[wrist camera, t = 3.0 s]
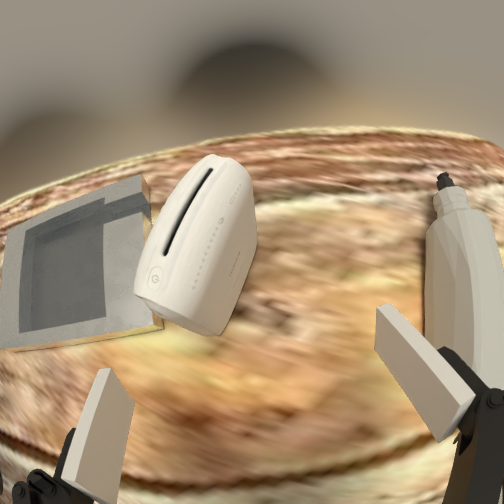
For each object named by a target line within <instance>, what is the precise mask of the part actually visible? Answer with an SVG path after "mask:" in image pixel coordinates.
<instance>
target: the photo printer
mask: <svg viewBox="0 0 504 504" xmlns="http://www.w3.org/2000/svg"><path fill="white" fill-rule="evenodd" d="M256 246H257V227H256V217H255V208H254V198H253V189H252V181H251V178H250V176H249V174H248V172H247V171H246V170H245V169H244V167H243V166H242V165H240V164H239V163H238V162H236V161H235V160H233V159H231V158H223V157H219V156H217V155H215V154H211V155H208V156H206V157H204V158H203V159H202V160H200V161H199V162H198V163H197V164H195V165H194V166H193V167H192V168H191V169H190V170H189V171H188V173H187V174H186V175H185V176H184V177H183V178H182V180H181V181H180V182H179V184H178V185H177V186H176V188H175V189H174V191H173V192H172V193H171V195H170V196H169V197H168V199H167V201H166V203H165V205H164V206H163V207H162V209H161V211H160V214H159V216H158V217H157V219H156V221H155V223H154V225H153V227H152V229H151V232H150V234H149V236H148V239H147V241H146V244H145V246H144V249H143V252H142V255H141V258H140V260H139V264H138V268H137V271H136V276H135V282H134V291H133V293H134V295H136V296H137V297H139V298H141V299H142V300H143V301H144V303H145V304H146V306H147V307H148V308H149V309H150V310H151V311H152V312H153V313H155V314H156V315H158V316H160V317H161V318H163V319H165V320H168V321H170V322H172V323H174V324H176V325H179V326H181V327H183V328H186V329H188V330H190V331H193V332H195V333H197V334H200V335H204V336H212V335H215V334H216V335H218V336H219V335H220V334H221V333H222V332H223V330H224V328H225V327H226V325H227V323H228V321H229V319H230V317H231V314H232V312H233V310H234V307H235V305H236V302H237V300H238V298H239V295H240V293H241V290H242V288H243V285H244V282H245V280H246V277H247V274H248V272H249V269H250V266H251V263H252V260H253V257H254V254H255V251H256Z"/></svg>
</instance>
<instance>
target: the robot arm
mask: <svg viewBox="0 0 504 504" xmlns="http://www.w3.org/2000/svg"><path fill="white" fill-rule="evenodd" d="M374 349H375V351H376V352H377V354H378V355H379V356H380V358H381V359H382V361H383V362H384V363H385V365H386V366H387V368H388V369H389V371H390V372H391V373H392V375H393V376H394V378H395V379H396V381H397V382H398V383H399V385H400V386H401V388H402V389H403V391H404V392H405V394H406V395H407V397H408V398H409V400H410V401H411V403H412V404H413V406H414V407H415V408H416V410H417V411H418V413H419V415H420V416H421V418H422V419H423V421H424V422H425V424H426V425H427V427H428V428H429V430H430V431H431V433H432V434H433V436H434V438H435V439H436V441H437V442H438V443H439V442H441V441H442V440H444V439H446V438H447V437H449V436H450V435H452V434H453V432H454V431H455V429H456V428H457V427H458V429H459V430H460V432H459V434H458V435H457V437H456V438H455V439H454V442H453V444H455V443H456V442H457V441H458V443H457V448H456V453H455V458H454V463H453V467H452V471H451V475H450V479H449V483H448V486H447V490H446V493H445V496H444V499H443V502H442V504H498V502H499V497H500V492H501V487H502V489H503V490H502V491H503V502H502V504H504V390H501V389H498V388H489V387H488V386H487V385H486V384H485V383H484V382H483V381H482V380H481V379H480V378H479V377H478V376H477V374H476V373H475V372H474V371H473V370H472V369H471V368H470V367H469V366H467V364H466V363H465V362H464V361H463V360H461V357H460V356H459V355H458V354H457V353H456V352H455V351H453V350H451V349H449V348H447V347H445V346H443V347H442V348H440V349H438V350H436V349H435V348H434V347H433V346H432V345H431V344H430V343H429V342H428V341H427V340H426V339H425V338H424V337H423V335H422V334H421V333H420V332H419V331H418V330H417V329H416V328H415V327H414V326H413V325H412V324H411V323H410V322H409V321H408V320H407V319H406V318H405V317H404V316H403V315H402V314H401V313H400V312H399V311H398V310H397V309H396V308H395V307H394V306H393V305H392V304H391V303H390V302H389V303H387V304H384V305H381V306H378V307H377V309H376V332H375V347H374ZM134 407H135V402H134V400H133V399H132V398H131V396H130V395H129V393H128V392H127V391H126V389H125V388H124V386H123V385H122V384H121V382H120V381H119V379H118V378H117V376H116V375H115V373H114V372H113V370H112V369H111V368H105V369H99V371H98V373H97V376H96V378H95V380H94V383H93V385H92V388H91V390H90V393H89V395H88V398H87V400H86V403H85V406H84V408H83V411H82V414H81V416H80V419H79V422H78V425H77V428H72V429H71V431H70V432H69V433H68V435H67V436H66V439H65V442H64V446H63V448H62V453H61V454H60V457H59V460H58V464H57V467H56V470H55V474H54V477H53V478H52V477H51V476H50V475H48V474H47V473H46V472H44V471H43V470H41V469H35V470H33V471H31V472H30V473H29V475H28V477H27V484H26V483H25V482H23V481H19V482H16V483H15V485H14V486H13V489H12V500H13V504H94V500H95V501H96V502H98V503H100V504H117V497H118V490H119V483H120V477H121V471H122V465H123V460H124V454H125V449H126V444H127V439H128V434H129V429H130V424H131V420H132V415H133V411H134ZM1 493H2V480H1V475H0V494H1Z"/></svg>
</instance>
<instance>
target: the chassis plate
mask: <svg viewBox="0 0 504 504" xmlns="http://www.w3.org/2000/svg"><path fill="white" fill-rule="evenodd" d="M151 229H152V225H151V211H150V192H149V186H148V184H147V182H146V181H145V179H144V177H143V176H142V174H139V175H136V176H133V177H130V178H128V179H125V180H122V181H119V182H116V183H114V184H111V185H108V186H106V187H103V188H100V189H98V190H95V191H93V192H90V193H88V194H85V195H83V196H80V197H78V198H75V199H73V200H71V201H68V202H66V203H64V204H62V205H59V206H57V207H55V208H53V209H50V210H48V211H46V212H44V213H42V214H40V215H38V216H36V217H33V218H31V219H29V220H27V221H25V222H23V223H21V224H20V225H18V226H16V227H14V228H12V229H10V230H8V235H7V240H6V246H5V253H4V260H3V268H2V278H1V290H0V349H2V350H7V351H11V352H20V351H30V350H39V349H47V348H55V347H63V346H70V345H77V344H83V343H90V342H96V341H103V340H109V339H114V338H120V337H126V336H131V335H137V334H142V333H147V332H152V331H158V330H162V329H164V324H163V318H161V317H160V316H158V315H156V314H155V313H153V312H152V311H151V310H150V309H149V308H148V307H147V306H146V304H145V303H144V301H143V300H142V299H141V298H139V297H137V296H136V295H134V293H133V291H134V282H135V276H136V271H137V268H138V264H139V260H140V258H141V255H142V252H143V249H144V246H145V244H146V241H147V239H148V236H149V234H150V232H151Z"/></svg>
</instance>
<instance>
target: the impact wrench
mask: <svg viewBox="0 0 504 504" xmlns="http://www.w3.org/2000/svg"><path fill="white" fill-rule="evenodd" d="M437 179H438V181H437V187H438V190H439V191H438V192H437V193H436V195H435V196H434V197H433V205H434V209H435V211H436V212H437V220H435V221H434V222H433V223H432V224H431V226H430V227H429V228H428V230H427V231H426V271H425V291H424V297H425V339H426V340H427V341H428V342H429V343H430V344H431V345H432V346H433V347H434V348H435V349H436V350H438V349H440V348H442V347H443V346H445V347H447V348H449V349H451V350H453V351H455V352H456V353H457V354H458V355H459V356H460V357H461V360H463V361H464V362H465V363H466V364H467V366H469V367H470V368H471V369H472V370H473V371H474V372H475V373H476V374H477V376H478V377H479V378H480V379H481V380H482V381H483V382H484V383H485V384H486V385H487V386H488V387H489V388H498V389H501V390H504V270H503V265H502V261H501V257H500V253H499V249H498V245H497V242H496V238H495V235H494V232H493V228H492V225H491V222H490V219H489V217H488V216H487V215H486V214H485V213H484V212H482V211H480V210H477V209H471V207H470V205H469V203H468V202H469V200H468V198H467V195H466V192H465V190H464V189H463V188H461V187H459V186H454V183H453V181H452V179H451V178H449V174H448V173H446V172H445V173H442V174H440V175H439V176H438V177H437Z"/></svg>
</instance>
